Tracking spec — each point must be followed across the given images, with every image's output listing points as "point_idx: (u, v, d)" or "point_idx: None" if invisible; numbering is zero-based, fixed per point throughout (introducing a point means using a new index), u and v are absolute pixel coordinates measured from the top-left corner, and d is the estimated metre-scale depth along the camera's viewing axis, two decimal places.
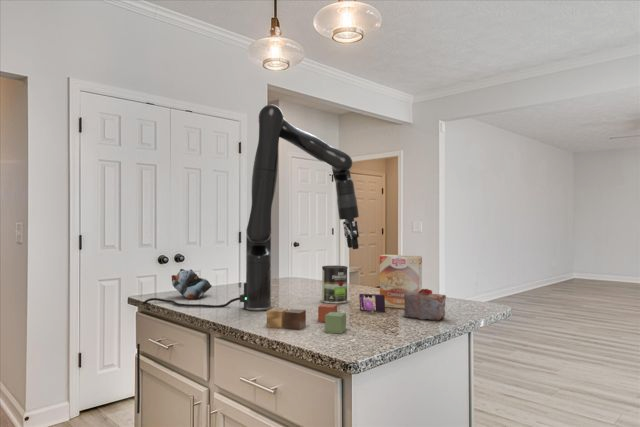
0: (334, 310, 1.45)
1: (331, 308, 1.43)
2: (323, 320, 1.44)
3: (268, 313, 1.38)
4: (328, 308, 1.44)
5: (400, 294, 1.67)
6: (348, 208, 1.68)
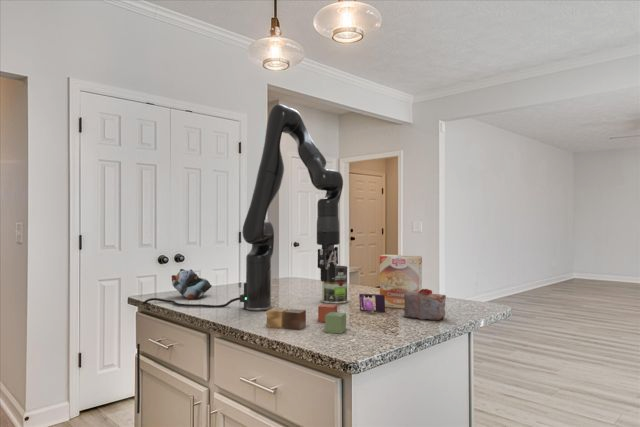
0: (334, 310, 1.45)
1: (331, 308, 1.43)
2: (323, 320, 1.44)
3: (268, 313, 1.38)
4: (328, 308, 1.44)
5: (400, 294, 1.67)
6: (322, 233, 1.44)
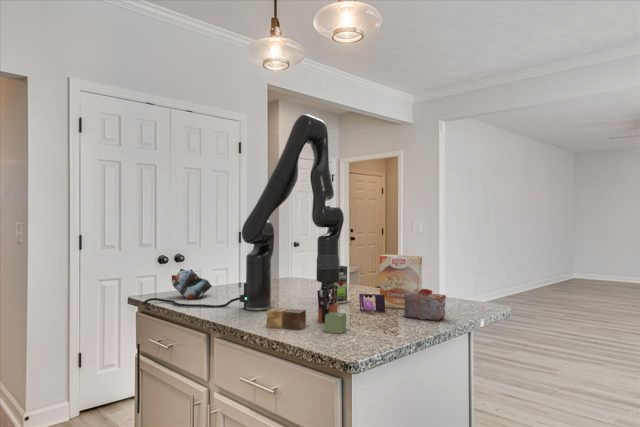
0: (334, 310, 1.45)
1: (331, 308, 1.43)
2: None
3: (268, 313, 1.38)
4: None
5: (400, 294, 1.67)
6: (322, 270, 1.43)
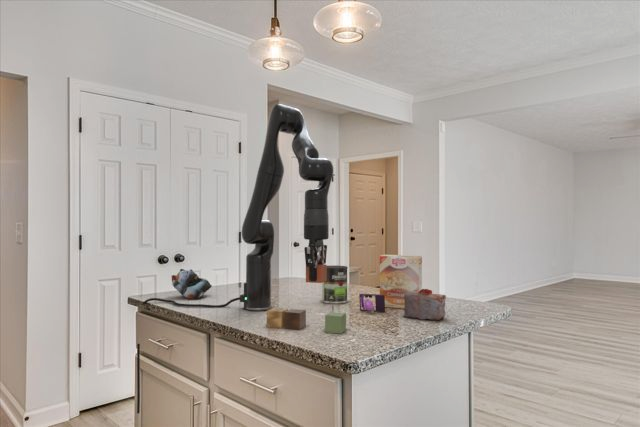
0: (323, 270, 1.34)
1: (320, 267, 1.33)
2: None
3: (268, 313, 1.38)
4: None
5: (400, 294, 1.67)
6: (310, 226, 1.33)
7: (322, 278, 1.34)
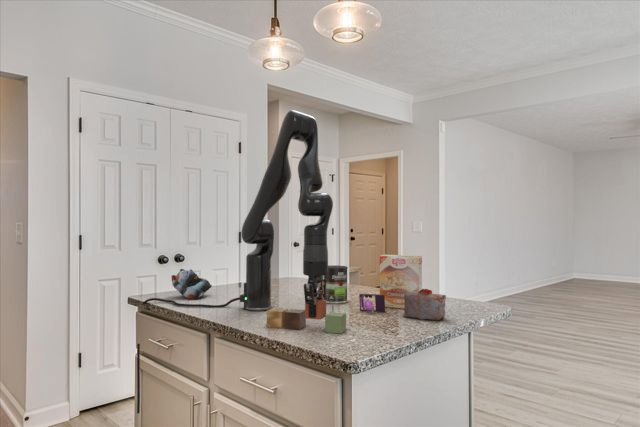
0: (322, 306, 1.34)
1: (319, 303, 1.32)
2: None
3: (268, 313, 1.38)
4: (316, 303, 1.32)
5: (400, 294, 1.67)
6: (309, 263, 1.32)
7: (322, 315, 1.33)
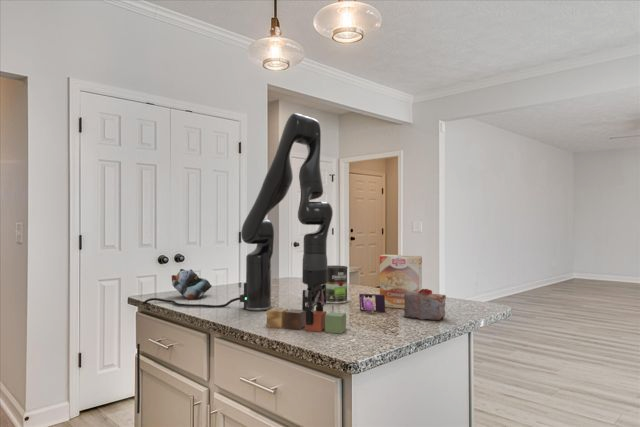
0: (322, 318, 1.34)
1: (319, 315, 1.32)
2: (310, 328, 1.33)
3: (268, 313, 1.38)
4: (316, 315, 1.32)
5: (400, 294, 1.67)
6: (308, 271, 1.32)
7: (322, 327, 1.33)
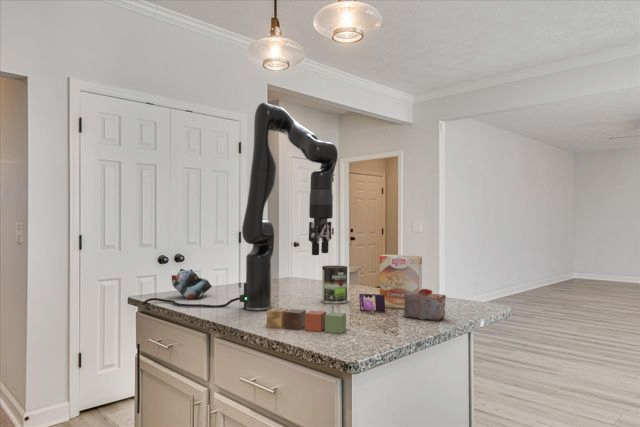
0: (322, 318, 1.34)
1: (319, 315, 1.32)
2: (310, 328, 1.33)
3: (268, 313, 1.38)
4: (316, 315, 1.32)
5: (400, 294, 1.67)
6: (315, 206, 1.40)
7: (322, 327, 1.33)
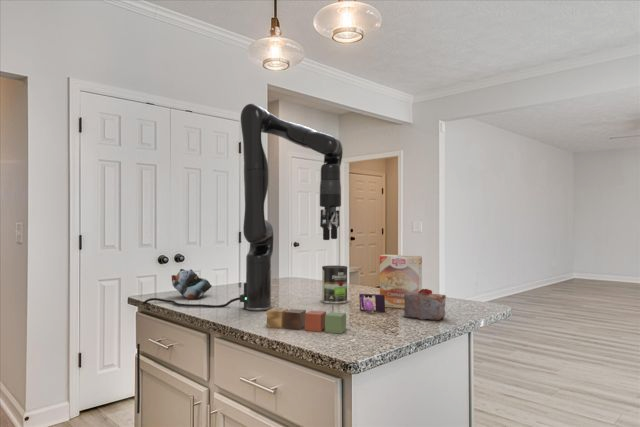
0: (322, 318, 1.34)
1: (319, 315, 1.32)
2: (310, 328, 1.33)
3: (268, 313, 1.38)
4: (316, 315, 1.32)
5: (400, 294, 1.67)
6: (325, 195, 1.54)
7: (322, 327, 1.33)
